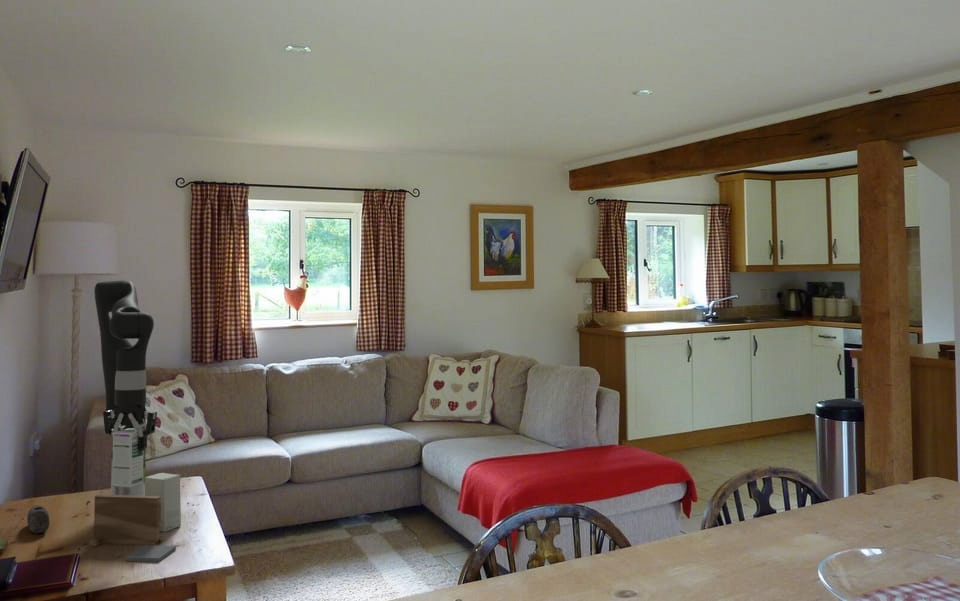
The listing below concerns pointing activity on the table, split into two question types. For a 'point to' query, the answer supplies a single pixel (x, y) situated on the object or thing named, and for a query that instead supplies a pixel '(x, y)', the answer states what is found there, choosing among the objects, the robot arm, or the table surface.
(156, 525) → the brown wooden standing panel
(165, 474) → the skincare box
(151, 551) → the mat
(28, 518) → the perforated stone tool
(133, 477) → the syrup box
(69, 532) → the table surface
